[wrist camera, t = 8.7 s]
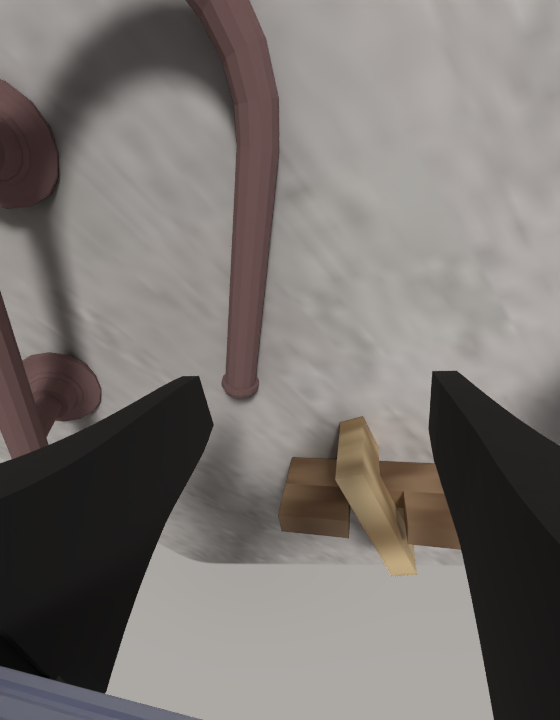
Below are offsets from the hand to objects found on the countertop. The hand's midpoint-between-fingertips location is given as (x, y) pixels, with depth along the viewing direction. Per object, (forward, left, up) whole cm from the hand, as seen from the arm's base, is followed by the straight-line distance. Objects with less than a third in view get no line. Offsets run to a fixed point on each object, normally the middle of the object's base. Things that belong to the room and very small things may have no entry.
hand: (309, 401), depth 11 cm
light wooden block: (-2, +13, -10) cm, 16 cm away
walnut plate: (-2, +13, -10) cm, 16 cm away
